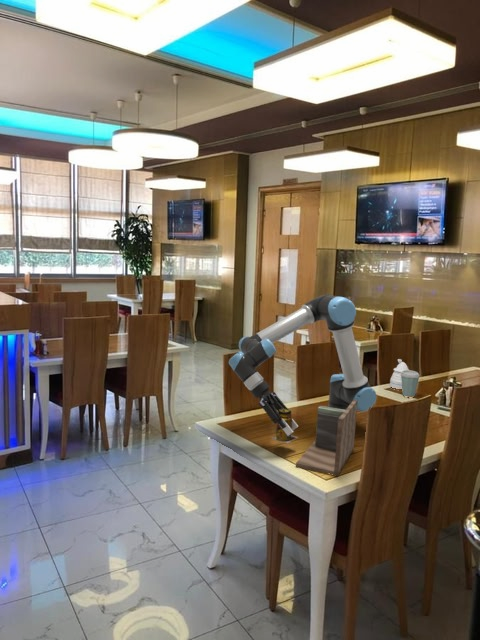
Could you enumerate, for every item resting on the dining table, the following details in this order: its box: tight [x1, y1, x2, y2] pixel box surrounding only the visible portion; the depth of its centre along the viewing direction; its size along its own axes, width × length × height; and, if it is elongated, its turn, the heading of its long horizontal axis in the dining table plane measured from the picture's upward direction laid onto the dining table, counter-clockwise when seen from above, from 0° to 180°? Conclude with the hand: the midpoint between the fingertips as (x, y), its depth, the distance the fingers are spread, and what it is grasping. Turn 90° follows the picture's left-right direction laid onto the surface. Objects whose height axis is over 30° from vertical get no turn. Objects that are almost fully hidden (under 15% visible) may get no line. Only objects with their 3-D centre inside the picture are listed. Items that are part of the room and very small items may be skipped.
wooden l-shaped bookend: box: [295, 400, 358, 476], centre depth 195 cm, size 28×16×22 cm, turn 156°
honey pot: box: [389, 358, 409, 389], centre depth 310 cm, size 13×13×18 cm
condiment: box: [271, 408, 299, 444], centre depth 200 cm, size 7×8×12 cm
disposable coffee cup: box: [401, 369, 420, 397], centre depth 291 cm, size 11×11×15 cm
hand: (293, 431), depth 198 cm, fingers closed on condiment, 6 cm apart
